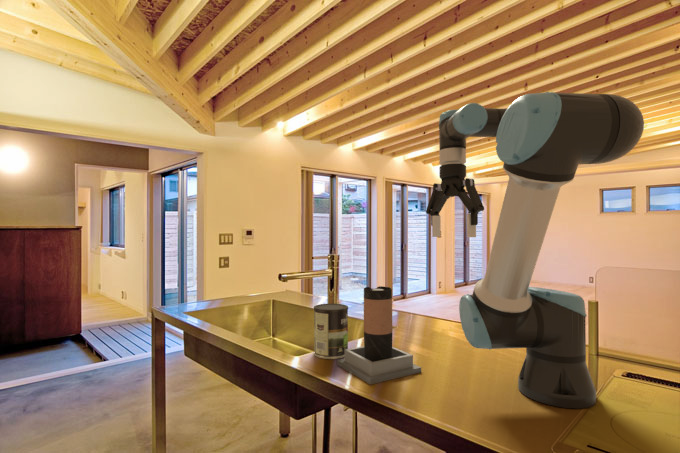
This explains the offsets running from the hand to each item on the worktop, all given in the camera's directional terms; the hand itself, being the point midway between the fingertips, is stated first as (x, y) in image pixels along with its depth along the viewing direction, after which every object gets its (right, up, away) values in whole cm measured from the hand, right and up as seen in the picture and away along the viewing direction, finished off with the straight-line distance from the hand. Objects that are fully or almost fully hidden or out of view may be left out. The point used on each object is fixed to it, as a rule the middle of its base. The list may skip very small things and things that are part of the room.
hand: (453, 237), depth 112 cm
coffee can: (-36, -35, +2) cm, 50 cm away
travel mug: (-23, -34, -10) cm, 42 cm away
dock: (-23, -35, -10) cm, 43 cm away
